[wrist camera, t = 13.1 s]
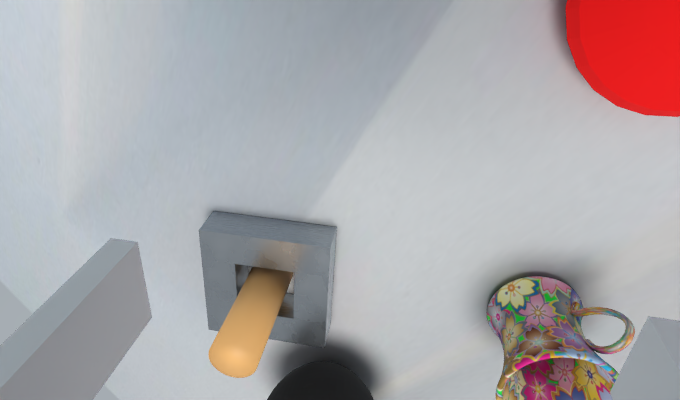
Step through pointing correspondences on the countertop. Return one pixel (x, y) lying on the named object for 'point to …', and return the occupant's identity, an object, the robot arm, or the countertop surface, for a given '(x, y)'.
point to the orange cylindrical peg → (249, 322)
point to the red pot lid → (629, 51)
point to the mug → (550, 343)
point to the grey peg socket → (273, 253)
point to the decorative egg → (321, 384)
